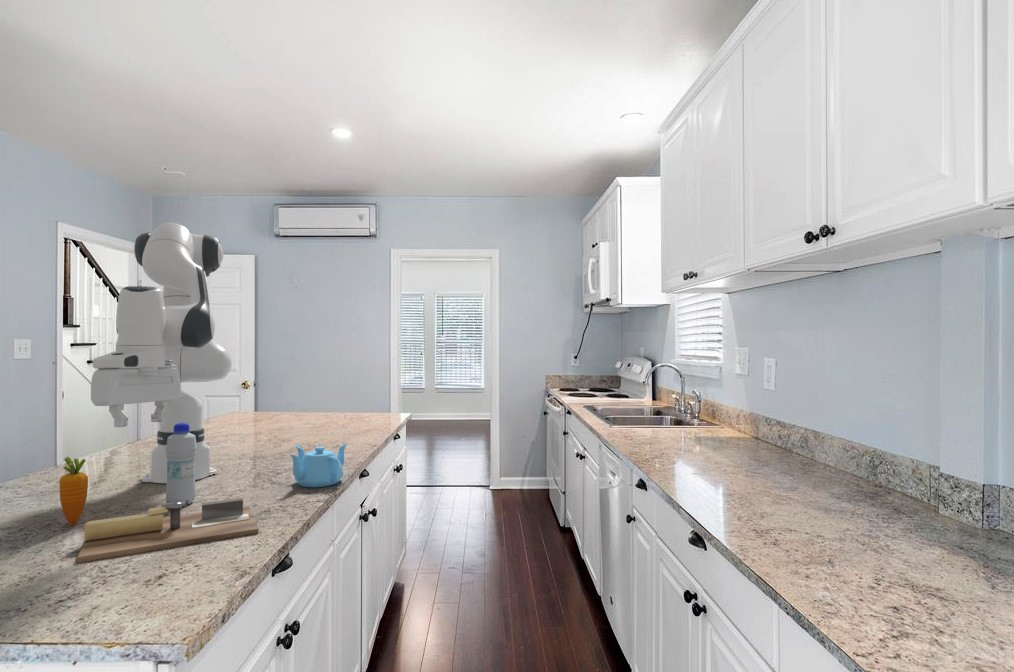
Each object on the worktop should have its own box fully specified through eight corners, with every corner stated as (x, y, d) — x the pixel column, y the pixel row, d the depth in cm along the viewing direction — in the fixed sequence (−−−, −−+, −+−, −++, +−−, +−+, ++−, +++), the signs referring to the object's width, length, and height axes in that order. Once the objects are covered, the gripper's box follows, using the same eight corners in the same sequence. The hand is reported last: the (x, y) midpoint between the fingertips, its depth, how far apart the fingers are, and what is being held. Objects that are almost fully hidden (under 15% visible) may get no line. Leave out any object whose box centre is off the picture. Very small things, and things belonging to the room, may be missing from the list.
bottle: (181, 508, 129) (182, 425, 129) (157, 506, 130) (159, 424, 130) (202, 500, 135) (203, 421, 136) (179, 498, 137) (181, 420, 137)
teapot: (342, 489, 148) (343, 451, 148) (284, 491, 144) (285, 453, 145) (347, 476, 162) (348, 442, 162) (294, 477, 159) (295, 443, 159)
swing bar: (185, 521, 115) (185, 499, 115) (185, 526, 112) (185, 503, 112) (86, 535, 106) (87, 511, 106) (83, 541, 103) (84, 516, 103)
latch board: (91, 532, 113) (92, 508, 113) (249, 510, 128) (249, 489, 128) (77, 562, 97) (77, 535, 97) (258, 533, 113) (258, 509, 113)
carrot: (93, 523, 118) (94, 455, 118) (68, 531, 113) (69, 459, 114) (77, 521, 120) (78, 453, 120) (52, 528, 115) (53, 458, 115)
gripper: (164, 360, 126) (163, 419, 126) (84, 359, 106) (83, 430, 105) (188, 359, 125) (188, 419, 125) (113, 359, 105) (111, 430, 104)
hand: (139, 424), depth 115 cm, fingers open, 8 cm apart
